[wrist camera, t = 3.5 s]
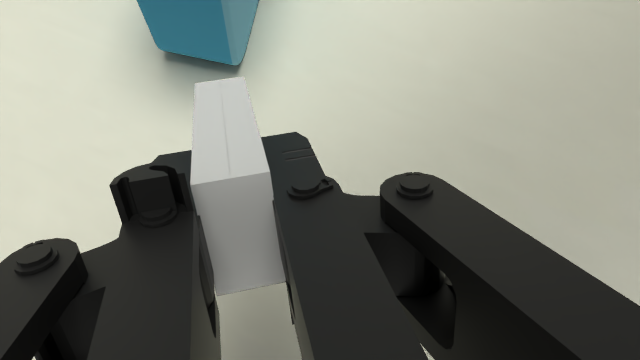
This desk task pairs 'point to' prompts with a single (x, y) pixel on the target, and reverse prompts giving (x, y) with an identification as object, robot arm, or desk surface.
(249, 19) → the data package
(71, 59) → the desk surface
